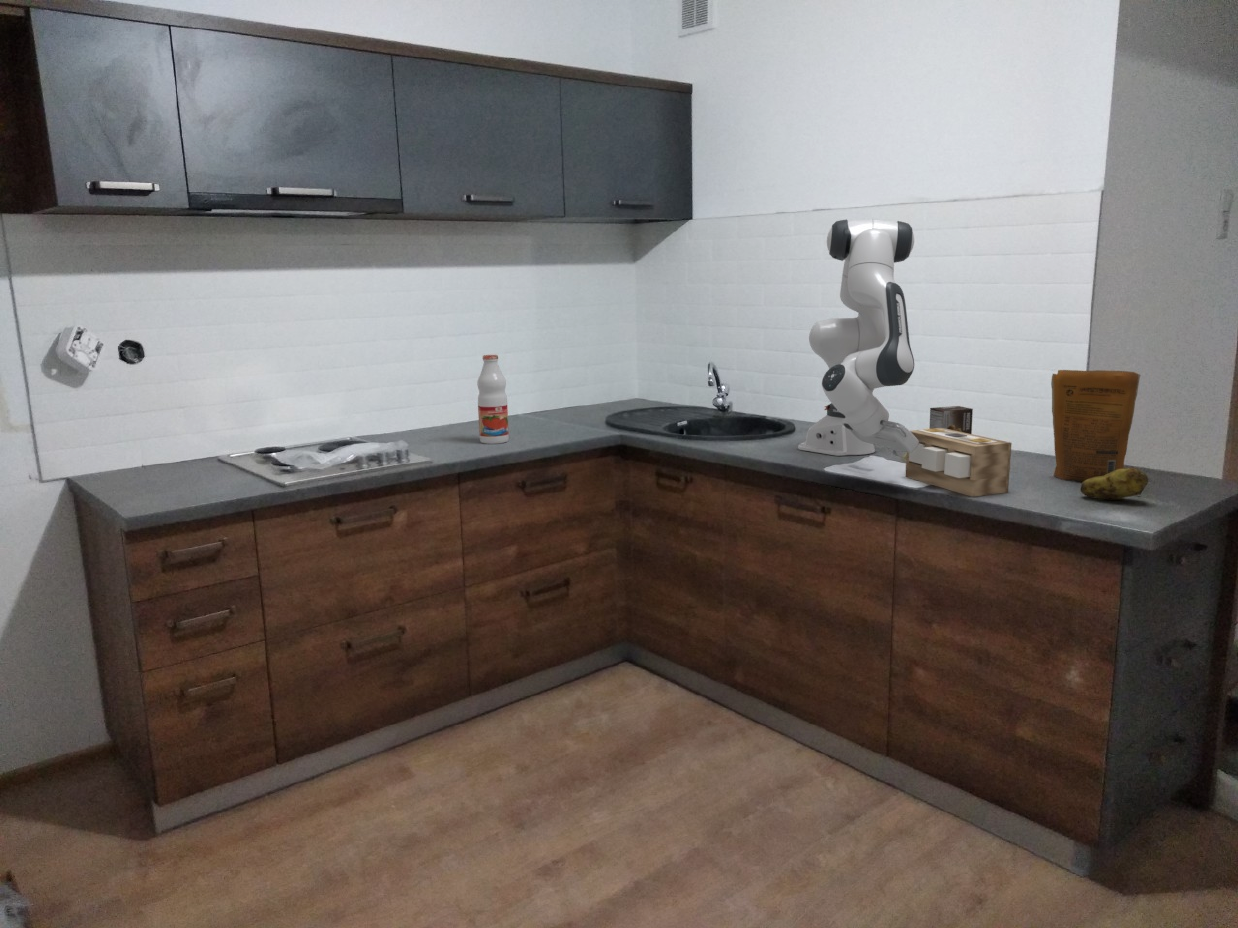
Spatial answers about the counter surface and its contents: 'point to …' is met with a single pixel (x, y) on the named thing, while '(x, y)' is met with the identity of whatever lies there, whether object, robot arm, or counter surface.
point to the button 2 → (958, 464)
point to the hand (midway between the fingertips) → (900, 454)
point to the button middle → (934, 458)
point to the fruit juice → (492, 403)
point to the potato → (1115, 484)
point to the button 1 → (917, 454)
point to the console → (985, 463)
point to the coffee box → (952, 418)
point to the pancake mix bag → (1091, 421)
